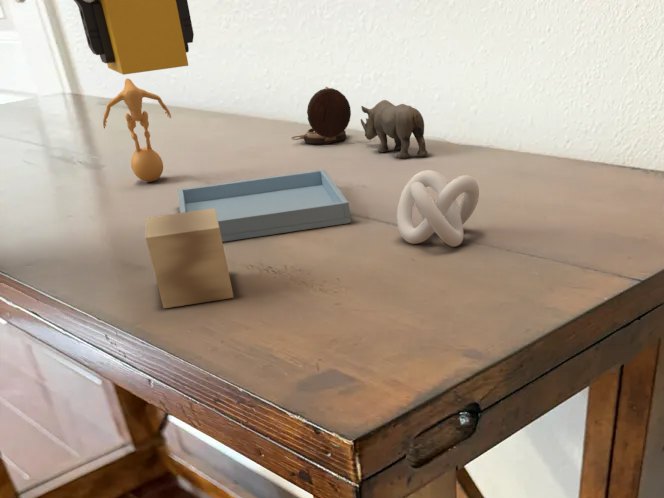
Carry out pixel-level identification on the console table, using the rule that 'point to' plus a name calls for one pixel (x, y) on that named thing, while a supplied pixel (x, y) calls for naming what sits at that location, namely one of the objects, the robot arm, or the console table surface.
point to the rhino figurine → (395, 126)
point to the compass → (327, 117)
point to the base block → (188, 258)
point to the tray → (270, 204)
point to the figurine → (144, 159)
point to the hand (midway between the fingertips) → (144, 55)
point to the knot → (436, 207)
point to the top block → (144, 35)
